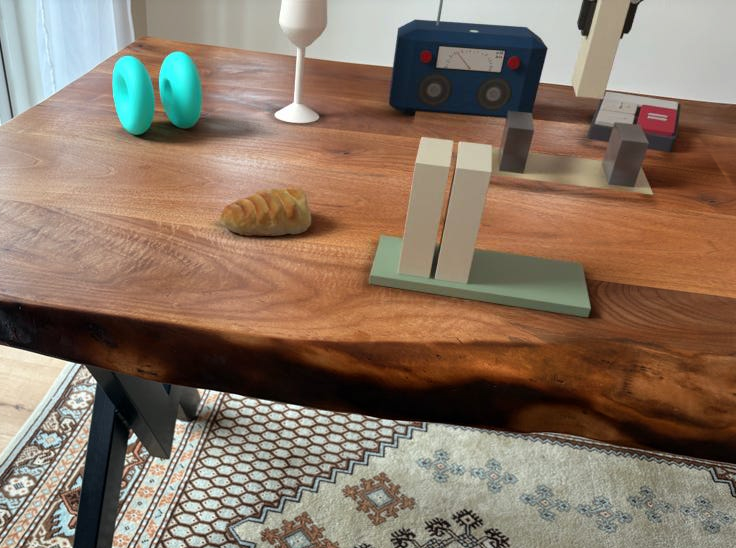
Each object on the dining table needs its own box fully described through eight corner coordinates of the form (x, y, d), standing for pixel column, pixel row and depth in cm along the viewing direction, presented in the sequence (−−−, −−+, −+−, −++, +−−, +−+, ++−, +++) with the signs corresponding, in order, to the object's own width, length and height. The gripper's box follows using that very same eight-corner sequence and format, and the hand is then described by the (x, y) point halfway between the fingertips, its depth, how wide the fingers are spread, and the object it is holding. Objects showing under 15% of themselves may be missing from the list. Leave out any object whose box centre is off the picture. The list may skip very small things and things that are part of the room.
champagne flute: (295, 105, 118) (306, -73, 104) (328, 116, 114) (345, -67, 101) (265, 114, 114) (272, -70, 100) (298, 126, 110) (311, -64, 96)
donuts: (205, 136, 105) (205, 60, 100) (136, 145, 101) (132, 67, 96) (178, 115, 113) (176, 43, 107) (112, 123, 109) (107, 48, 103)
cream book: (596, 83, 94) (623, -15, 88) (603, 99, 89) (632, -5, 82) (571, 81, 95) (596, -17, 88) (575, 96, 89) (602, -7, 83)
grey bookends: (638, 172, 100) (655, 122, 96) (650, 202, 92) (669, 149, 88) (481, 153, 104) (491, 105, 100) (480, 180, 96) (491, 129, 92)
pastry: (232, 244, 79) (233, 210, 77) (211, 218, 84) (211, 185, 82) (315, 233, 82) (318, 199, 80) (290, 208, 87) (292, 176, 85)
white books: (579, 272, 77) (616, 155, 70) (588, 317, 70) (629, 193, 63) (379, 243, 80) (396, 130, 74) (368, 284, 73) (385, 162, 66)
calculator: (592, 119, 106) (604, 87, 117) (583, 148, 108) (596, 114, 119) (678, 133, 102) (683, 98, 113) (667, 163, 105) (673, 127, 115)
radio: (388, 116, 115) (408, -32, 104) (388, 99, 123) (407, -41, 111) (530, 127, 113) (567, -22, 102) (522, 110, 121) (555, -32, 109)
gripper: (580, -145, 77) (539, 38, 87) (733, -140, 74) (672, 49, 84) (574, -147, 83) (536, 24, 93) (715, -142, 80) (661, 34, 90)
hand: (601, 35), depth 88 cm, fingers closed on cream book, 3 cm apart
